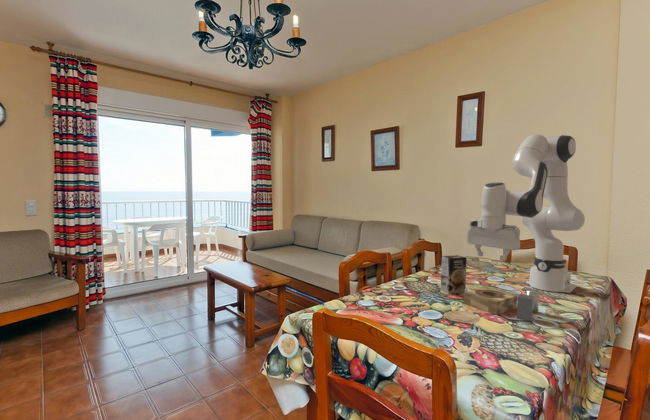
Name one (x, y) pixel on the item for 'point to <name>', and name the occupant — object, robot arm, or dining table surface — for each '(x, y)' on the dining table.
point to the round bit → (536, 299)
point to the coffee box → (453, 274)
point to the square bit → (525, 307)
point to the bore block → (490, 300)
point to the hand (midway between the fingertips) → (491, 258)
